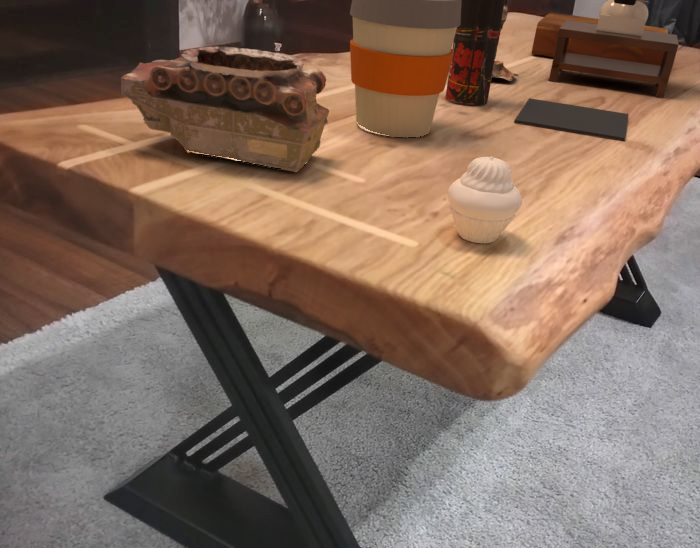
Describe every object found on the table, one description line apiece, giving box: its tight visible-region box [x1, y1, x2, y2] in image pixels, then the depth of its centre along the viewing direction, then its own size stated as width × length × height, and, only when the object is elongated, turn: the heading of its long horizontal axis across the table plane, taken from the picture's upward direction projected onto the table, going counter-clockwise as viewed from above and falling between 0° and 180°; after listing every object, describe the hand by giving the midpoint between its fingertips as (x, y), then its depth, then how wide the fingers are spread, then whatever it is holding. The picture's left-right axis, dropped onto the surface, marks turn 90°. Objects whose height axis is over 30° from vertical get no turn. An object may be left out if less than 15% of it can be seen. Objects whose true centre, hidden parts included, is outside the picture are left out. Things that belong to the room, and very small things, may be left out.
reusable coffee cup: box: [349, 0, 462, 139], centre depth 90 cm, size 13×13×15 cm
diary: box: [531, 11, 669, 66], centre depth 148 cm, size 23×19×6 cm
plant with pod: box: [492, 0, 520, 82], centre depth 119 cm, size 8×11×20 cm
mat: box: [513, 97, 629, 142], centre depth 105 cm, size 14×14×1 cm
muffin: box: [447, 155, 523, 244], centre depth 64 cm, size 6×6×7 cm
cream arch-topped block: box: [597, 0, 649, 36], centre depth 123 cm, size 7×4×5 cm, turn 71°
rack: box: [548, 20, 680, 99], centre depth 126 cm, size 18×11×8 cm, turn 71°
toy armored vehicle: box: [120, 45, 331, 173], centre depth 76 cm, size 13×20×10 cm, turn 70°
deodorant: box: [445, 0, 505, 107], centre depth 105 cm, size 6×6×15 cm
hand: (625, 0), depth 122 cm, fingers open, 9 cm apart
